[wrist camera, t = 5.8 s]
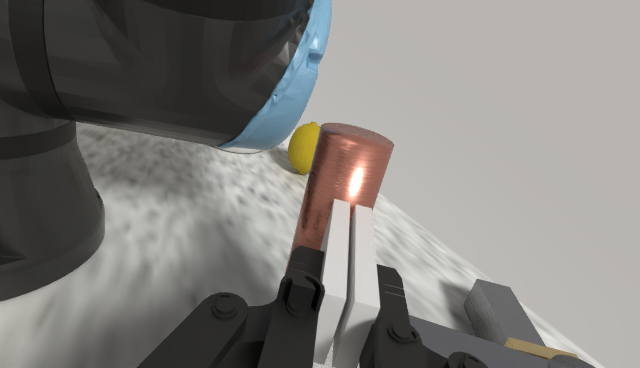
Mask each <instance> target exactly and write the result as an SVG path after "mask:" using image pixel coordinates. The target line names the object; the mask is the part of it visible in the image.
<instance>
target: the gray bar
mask: <svg viewBox="0 0 640 368" xmlns="http://www.w3.org/2000/svg"><path fill="white" fill-rule="evenodd" d="M464 306H465V309H466V311H467V314H468V316H469V319H470V321H471V324H472V326H473V329H474V331H475V334H476V336H477V337H478V338H481V339H484V340H488V341H491V342H494V343H497V344H500V345H503V346H506V347H509V348H512V349H515V350H518V351H521V352H525V353H528V354H531V355H534V356H537V357H540V358H543V359H546V360H549V361H550V360H551V358H552V357H553V356H555V355H560V354H562V355H569V356H572V357H575V358H578V357H577V355H576V354H572V353H568V352H564V351H561V350H557V349H553V348H549V347H546V345H545V344H544V342H543V341H542V339H541V337H540V336H539V334H538V332H537V331H536V329H535V328H534V326H533V324H532V323H531V321H530V319H529V318H528V316H527V315H526V313H525V311H524V310H523V308H522V306H521V305H520V303H519V302H518V300H517V298H516V297H515V295H514V294H513V292H512V290H511V289H510V287H507V286H502V285H499V284H495V283H491V282H488V281H484V280H480V279H477V280H476V282H475V284H474V285H473V287H472V289H471V291H470V293H469V295H468V297H467V299H466V301H465V303H464ZM578 359H579V358H578Z"/></svg>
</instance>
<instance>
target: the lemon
mask: <svg viewBox="0 0 640 368" xmlns="http://www.w3.org/2000/svg"><path fill="white" fill-rule="evenodd" d="M320 128H321V127H319V126H318V125H317V123H316V122H311V123H310V124H305V125H302V126H300V127H299V128H297V129H296V130H295V132H294V133H293V135H292V137H291V140H290V143H289V147H288V157H289V160H290V163H291V164H292V166H293V167H294V168H295V169H297V170H298V171H299V173H300V174H301V175H304V174H306V173H308V172H310V169H311V165H312V161H313V157H314V152H315V148H316V144H317V140H318V136H319V132H320Z"/></svg>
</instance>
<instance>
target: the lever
mask: <svg viewBox="0 0 640 368" xmlns="http://www.w3.org/2000/svg"><path fill="white" fill-rule="evenodd" d="M393 147H394V144H393V143H392V142H391V141H390V140H389V139H387V138H386V137H384V136H382V135H380V134H378V133H375V132H372V131H370V130H367V129H363V128H360V127H356V126H352V125H347V124H341V123H325V124H322V125H321V128H320V132H319V136H318V140H317V144H316V148H315V152H314V157H313V161H312V165H311V169H310V173H309V177H308V181H307V186H306V190H305V194H304V198H303V202H302V206H301V210H300V214H299V219H298V223H297V227H296V231H295V235H294V239H293V243H292V248H291V252H290V256H289V260H288V264H289V261H290V258H291V254H292V251H293V250H295V249H296V248H297V247H298V246H299V245H301V246H305V247H309V248H313V249H317V250H320V248H321V244H322V241H323V237H324V234H325V230H326V227H327V223H328V220H329V216H330V212H331V209H332V205H333V202H334V199H337V200H341V201H345V202H349V203H350V221H351V218H352V215H353V212H354V208H355V205H356V204H357V205H361V206H365V207H368V208H372V210H373V207H374V204H375V201H376V198H377V195H378V192H379V189H380V186H381V183H382V180H383V177H384V174H385V171H386V168H387V165H388V162H389V159H390V156H391V153H392V150H393ZM349 225H350V222H349ZM288 264H287V268H288ZM287 268H286V271H287ZM285 274H286V272H285ZM409 320H410V325H411V326H413V327H414V328H415V329H416V331H417V332H418V333H419V335H420V337H421V340H422V344H423V345H424V346H426V347H427V348H429V349H430V350H432V351H434V352H436V353H438V354H440V355H441V356H443V357H445V358H447V359H448V357H449V356H450V355H451V354H452V353H453V352H459V351H461V352H465V353H469V354H471V355H473V356H475V357H477V358H478V359H479V360H481V361H482V362H483V363H484V364H486V366H487V367H488V368H595V367H593V366H592V365H590V364H588V363H586V362H584V361H582V360H580V359H578V358H575V357H572V356H569V355H562V354H560V355H555V356H553V357H552V358H551V360H550V361H549V360H546V359H543V358H540V357H537V356H534V355H531V354H528V353H525V352H521V351H518V350H515V349H512V348H509V347H506V346H503V345H500V344H497V343H494V342H491V341H488V340H484V339H481V338H478V337H475V336H472V335H469V334H466V333H463V332H460V331H457V330H454V329H451V328H447V327H444V326H441V325H438V324H435V323H432V322H429V321H426V320H423V319H420V318H417V317H414V316H410V315H409Z"/></svg>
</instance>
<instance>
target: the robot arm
mask: <svg viewBox="0 0 640 368" xmlns="http://www.w3.org/2000/svg"><path fill="white" fill-rule="evenodd" d="M331 9H332V5H331V0H0V301H3V300H7V299H10V298H13V297H16V296H19V295H22V294H25V293H28V292H31V291H33V290H36V289H38V288H41V287H43V286H45V285H48V284H50V283H52V282H54V281H56V280H58V279H60V278H62V277H63V276H65V275H67V274H68V273H70V272H72V271H73V270H75V269H76V268H78V267H79V266H80V265H82V264H83V263H84V262H85V261H87V260H88V259H89V258H90V257H91V256H92V255H93V254H94V253H95V251H96V250H97V249H98V247H99V246H100V244H101V242H102V240H103V238H104V234H105V210H104V204H103V201H102V199H101V197H100V195H99V193H98V191H97V190H96V189H95V188H94V185H93V182H92V180H91V177H90V174H89V172H88V169H87V166H86V164H85V162H84V159H83V157H82V154H81V152H80V149H79V147H78V144H77V138H76V122H81V123H88V124H93V125H99V126H104V127H110V128H116V129H121V130H127V131H133V132H138V133H144V134H150V135H155V136H161V137H166V138H172V139H178V140H183V141H189V142H195V143H200V144H206V145H212V146H215V147H218V148H223V149H224V148H231V147H236V148H246V149H257V150H266V149H271V148H273V147H275V146H277V145H279V144H280V143H282V142H283V141H284V140H285V139H286V138H287V137H288V136H289V135H290V134H291V132H292V131H293V129H294V128H295V126H296V125H297V123H298V121H299V119H300V118H301V116H302V114H303V112H304V109H305V107H306V105H307V103H308V100H309V98H310V96H311V93H312V91H313V88H314V86H315V83H316V80H317V76H318V64H319V63H320V61H321V59H322V57H323V55H324V52H325V48H326V44H327V40H328V36H329V29H330V23H331V12H332V10H331ZM349 222H350V225H349ZM333 337H334V347H333V360H332V367H335V368H357V366H358V364H359V367H360V368H488V367H487V366H486V364H484V363H483V362H482V361H481V360H479V359H478V358H477V357H475V356H473V355H471V354H469V353H465V352H461V351H459V352H453V353H452V354H451V355H450V356H449V357H448V359H447V358H445V357H443V356H441V355H440V354H438V353H436V352H434V351H432V350H430V349H429V348H427V347H426V346H424V345H423V344H422V340H421V337H420V335H419V333H418V332H417V331H416V329H415V328H414V327H413V326H411V325H410V320H409V315H408V309H407V304H406V299H405V293H404V290H403V282H402V278H401V277H400V275H399V274H398V272H397V271H396V269H394V268H390V267H386V266H382V265H378V264H376V252H375V241H374V229H373V217H372V208H368V207H365V206H361V205H357V204H356V205H355V208H354V212H353V215H352V218H351V221H350V203H349V202H345V201H341V200H337V199H334V202H333V205H332V209H331V212H330V216H329V220H328V223H327V227H326V230H325V234H324V237H323V241H322V244H321V248H320V250H317V249H313V248H309V247H305V246H301V245H299V246H298V247H297V248H296V249H295V250H293V251H292V254H291V258H290V261H289V264H288V268H287V271H286V274H285V276H284V277H283V279H282V280H281V283H280V287H279V291H278V295H277V299H276V300H274V301H273V302H271V303H270V304H267V305H264V306H248V305H247V303H246V302H245V300H244V299H243V298H241V297H239V296H238V295H236V294H232V293H217V294H213V295H211V296H209V297H208V298H206V299H205V300H204V301H203V302H202V303H201V304H200V305H199V306H198V307H197V308H196V309H195V310H194V311H193V312H192V313H191V314H190V315H189V316H188V317H187V318H186V319H185V320H184V321H183V322H182V323H181V324H180V325H179V326H178V327H177V328H176V329H175V330H174V331H173V332H172V333H171V334H170V335H169V336H168V337H167V338H166V339H165V340H164V341H163V342H162V343H161V344H160V345H159V346H158V347H157V348H156V349H155V350H154V351H153V352H152V353H151V354H150V355H149V356H148V357H147V358H146V359H145V360H144V361H143V362H142V363H141V364H140V365H139V366H138V367H137V368H312V367H313V362H316V363H320V364H324V363H325V360H326V357H327V354H328V352H329V349H330V346H331V343H332V340H333Z"/></svg>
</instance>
